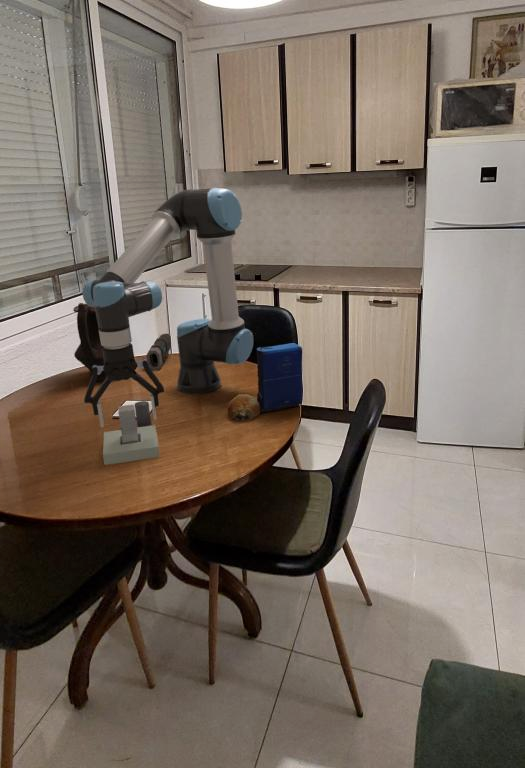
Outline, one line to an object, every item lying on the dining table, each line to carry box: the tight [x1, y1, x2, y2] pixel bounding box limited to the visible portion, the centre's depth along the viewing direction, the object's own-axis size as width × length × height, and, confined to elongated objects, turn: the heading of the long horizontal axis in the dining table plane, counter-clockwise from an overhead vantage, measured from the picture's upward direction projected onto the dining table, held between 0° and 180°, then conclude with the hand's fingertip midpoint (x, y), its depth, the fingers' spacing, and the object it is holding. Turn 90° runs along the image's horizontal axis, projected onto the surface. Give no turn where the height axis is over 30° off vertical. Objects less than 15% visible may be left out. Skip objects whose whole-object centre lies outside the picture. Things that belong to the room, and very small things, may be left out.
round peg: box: [134, 400, 152, 428], centre depth 160 cm, size 4×4×8 cm
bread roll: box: [227, 393, 261, 422], centre depth 167 cm, size 10×10×8 cm
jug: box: [73, 302, 107, 382], centre depth 201 cm, size 21×18×30 cm
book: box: [256, 342, 303, 413], centre depth 168 cm, size 14×5×20 cm, turn 113°
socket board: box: [102, 424, 161, 466], centre depth 149 cm, size 14×14×3 cm
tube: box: [146, 333, 172, 372], centre depth 224 cm, size 11×7×30 cm
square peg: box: [117, 403, 139, 444], centre depth 147 cm, size 4×4×12 cm
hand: (128, 421), depth 147 cm, fingers open, 13 cm apart
